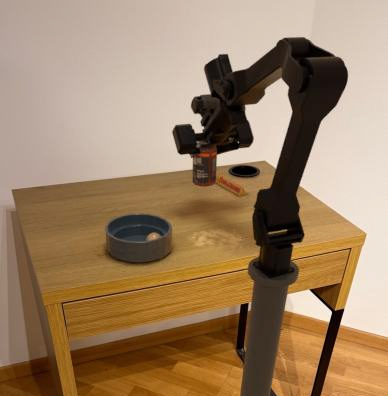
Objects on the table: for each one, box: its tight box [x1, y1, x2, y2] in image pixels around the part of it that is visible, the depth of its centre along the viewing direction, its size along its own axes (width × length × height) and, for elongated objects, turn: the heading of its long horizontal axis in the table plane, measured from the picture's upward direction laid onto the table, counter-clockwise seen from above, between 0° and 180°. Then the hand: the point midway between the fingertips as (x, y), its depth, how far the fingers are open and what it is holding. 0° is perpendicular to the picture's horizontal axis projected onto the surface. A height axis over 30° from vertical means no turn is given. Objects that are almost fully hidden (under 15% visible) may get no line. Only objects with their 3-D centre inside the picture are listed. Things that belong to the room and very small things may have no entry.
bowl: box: [104, 212, 173, 263], centre depth 107 cm, size 14×14×5 cm
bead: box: [146, 233, 161, 241], centre depth 106 cm, size 4×4×4 cm
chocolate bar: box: [215, 172, 247, 197], centre depth 137 cm, size 3×12×2 cm, turn 32°
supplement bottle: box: [191, 144, 218, 188], centre depth 121 cm, size 6×6×11 cm
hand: (202, 154), depth 121 cm, fingers closed on supplement bottle, 6 cm apart
